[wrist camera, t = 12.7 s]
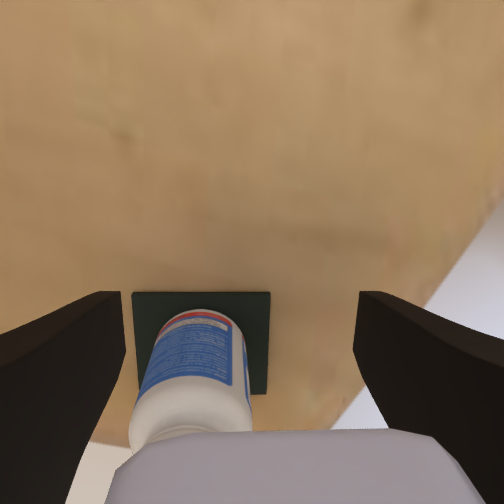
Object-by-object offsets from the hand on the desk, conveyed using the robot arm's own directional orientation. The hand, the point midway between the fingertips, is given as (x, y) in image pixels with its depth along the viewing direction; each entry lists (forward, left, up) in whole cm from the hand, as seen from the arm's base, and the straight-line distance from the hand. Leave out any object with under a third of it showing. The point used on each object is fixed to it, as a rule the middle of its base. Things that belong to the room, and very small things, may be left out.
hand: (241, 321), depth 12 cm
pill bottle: (-2, -7, -10) cm, 13 cm away
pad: (-2, -7, -10) cm, 13 cm away
